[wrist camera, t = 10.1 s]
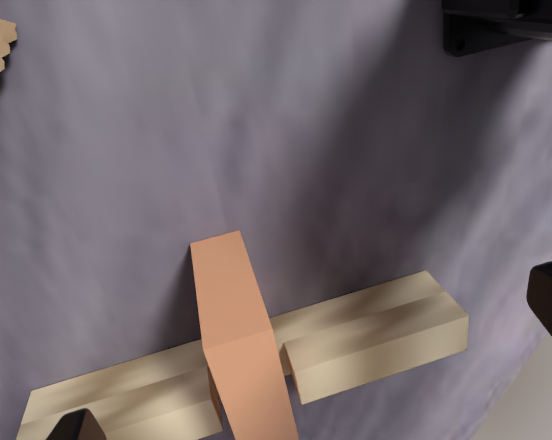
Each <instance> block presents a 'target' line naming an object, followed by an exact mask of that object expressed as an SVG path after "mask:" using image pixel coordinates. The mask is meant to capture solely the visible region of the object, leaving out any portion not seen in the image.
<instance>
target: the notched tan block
mask: <svg viewBox="0 0 552 440" xmlns="http://www.w3.org/2000/svg"><path fill="white" fill-rule="evenodd" d="M190 246H191V254H192V262H193V271H194V279H195V287H196V295H197V304H198V312H199V320H200V329H201V337H202V345H203V351H204V354H205V357H206V359H207V362H208V365H209V368H210V370H211V373H212V376H213V379H214V381H215V384H216V387H217V390H218V392H219V395H220V398H221V401H222V403H223V406H224V409H225V412H226V414H227V417H228V420H229V423H230V425H231V428H232V431H233V434H234V436H235V439H236V440H299V437H298V432H297V428H296V424H295V420H294V416H293V412H292V408H291V403H290V399H289V395H288V391H287V387H286V383H285V379H284V374H283V370H282V366H281V362H280V358H279V354H278V350H277V345H276V341H275V337H274V333H273V329H272V326H271V323H270V320H269V317H268V314H267V311H266V308H265V305H264V302H263V299H262V296H261V293H260V290H259V287H258V284H257V281H256V278H255V275H254V272H253V269H252V266H251V263H250V260H249V257H248V254H247V251H246V248H245V245H244V242H243V239H242V236H241V233H240V230H238V231H234V232H231V233H227V234H223V235H220V236H216V237H212V238H209V239H205V240H201V241H198V242H194V243H190Z"/></svg>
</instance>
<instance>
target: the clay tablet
mask: <svg viewBox="0 0 552 440" xmlns="http://www.w3.org/2000/svg"><path fill="white" fill-rule="evenodd" d="M16 25H17V24H14V23H12V22H8V21H5V20H2V19H0V72H1V71H2V70H3V69H5V67H4V60H3V59H2V57H4V56H6V55H7V54H9V53H10V46H9V44H8V43H10V42H12V41H14V40H16V39H17V33H16V31H15V27H16Z"/></svg>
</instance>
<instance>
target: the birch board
mask: <svg viewBox="0 0 552 440" xmlns="http://www.w3.org/2000/svg"><path fill="white" fill-rule="evenodd" d="M269 320H270V323H271V326H272V329H273V333H274V337H275V341H276V345H277V350H278V354H279V358H280V362H281V366H282V370H283V374H284V376H286V375H289V374H292V377H293V380H294V383H295V386H296V389H297V392H298V395H299V398H300V401H301V404H302V405H303V404H306V403H309V402H312V401H315V400H318V399H321V398H324V397H327V396H330V395H333V394H336V393H339V392H342V391H345V390H348V389H351V388H354V387H357V386H360V385H363V384H366V383H369V382H372V381H375V380H378V379H381V378H384V377H387V376H390V375H393V374H396V373H399V372H402V371H405V370H408V369H411V368H414V367H417V366H420V365H423V364H426V363H429V362H432V361H435V360H438V359H441V358H444V357H447V356H450V355H453V354H456V353H459V352H462V351H465V350H467V339H468V323H469V315H468V314H467V313H466V312H465V311H464V310H463V309H462V308H461V307H460V306H459V305H458V304H457V303H456V302H455V300H454V299H453V298H452V297H451V296H450V295H449V294H448V293H447V292H446V291H445V290H444V289H443V288H442V287H441V286H440V285H439V284H438V283H437V281H436V280H435V279H434V278H433V277H432V276H431V275H430V274H429V273H428V272H427V271H426V270H425V271H422V272H419V273H415V274H412V275H409V276H405V277H402V278H399V279H396V280H392V281H389V282H386V283H383V284H379V285H376V286H373V287H369V288H366V289H363V290H360V291H356V292H353V293H350V294H347V295H343V296H340V297H337V298H334V299H330V300H327V301H324V302H320V303H317V304H314V305H311V306H307V307H304V308H301V309H298V310H294V311H291V312H288V313H284V314H281V315H278V316H275V317H271V318H269ZM219 397H220V395H219V392H218V390H217V387H216V384H215V381H214V379H213V376H212V373H211V370H210V368H209V365H208V362H207V359H206V357H205V354H204V351H203V345H202V339H199V340H196V341H193V342H190V343H186V344H183V345H180V346H177V347H173V348H170V349H167V350H164V351H160V352H157V353H154V354H150V355H147V356H144V357H141V358H137V359H134V360H131V361H128V362H124V363H121V364H118V365H114V366H111V367H108V368H105V369H101V370H98V371H95V372H92V373H88V374H85V375H82V376H79V377H75V378H72V379H69V380H65V381H62V382H59V383H56V384H52V385H49V386H46V387H43V388H39V389H36V390H33V391H31V394H30V397H29V400H28V403H27V406H26V410H25V413H24V416H23V419H22V422H21V425H20V428H19V432H18V435H17V438H16V440H46V438H47V437H48V436H49V434H50V433H51V431H52V430H53V428H54V427H55V425H56V424H57V423H58V421H59V420H60V418H61V417H62V416H63V415H65V414H67V413H69V412H73V411H76V410H79V409H82V408H87V409H89V410H90V411H91V412H92V414H93V415H94V417H95V419H96V420H97V422H98V423H99V425H100V427H101V428H102V430H103V431H104V433H105V435H106V438H107V440H198V439H201V438H204V437H207V436H210V435H213V434H216V433H219V432H222V431H223V425H222V418H221V411H220V404H219Z"/></svg>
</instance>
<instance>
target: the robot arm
mask: <svg viewBox="0 0 552 440" xmlns="http://www.w3.org/2000/svg"><path fill="white" fill-rule="evenodd" d="M442 9H443V10H444V51H445V52H446V54H448V55H450V56H454V57H460V56H464V55H468V54H472V53H477V52H481V51H485V50H489V49H493V48H497V47H501V46H505V45H509V44H513V43H517V42H521V41H525V40H529V39H533V38H536V39H543V40H551V41H552V0H442ZM457 39H459V41H460V43H459V46H458V47H457V48H456V49H455V48H454V44H455V42H456V40H457ZM526 298H527V302H528V305H529V307H530V309H531V310H532V311H533V313H534V314H535V315H536V317H537V318H538V319H539V320H540V322H541V323H542V324H543V326H544V327H545V328H546V330H547V331H548V332H549V333H550V335H551V336H552V261H551V262H546V263H543V264H540V265H537V266H534V267H533V268H532V269H531V271H530V275H529V282H528V289H527V296H526ZM46 440H107V438H106V435H105V433H104V431H103V430H102V428H101V427H100V425H99V423H98V422H97V420H96V419H95V417H94V415H93V414H92V412H91V411H90V410H89V409H87V408H82V409H79V410H76V411H73V412H69V413H67V414H65V415H63V416H62V417H61V418H60V420H59V421H58V423H57V424H56V425H55V427H54V428H53V430H52V431H51V433H50V434H49V436H48V437H47V438H46Z"/></svg>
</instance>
